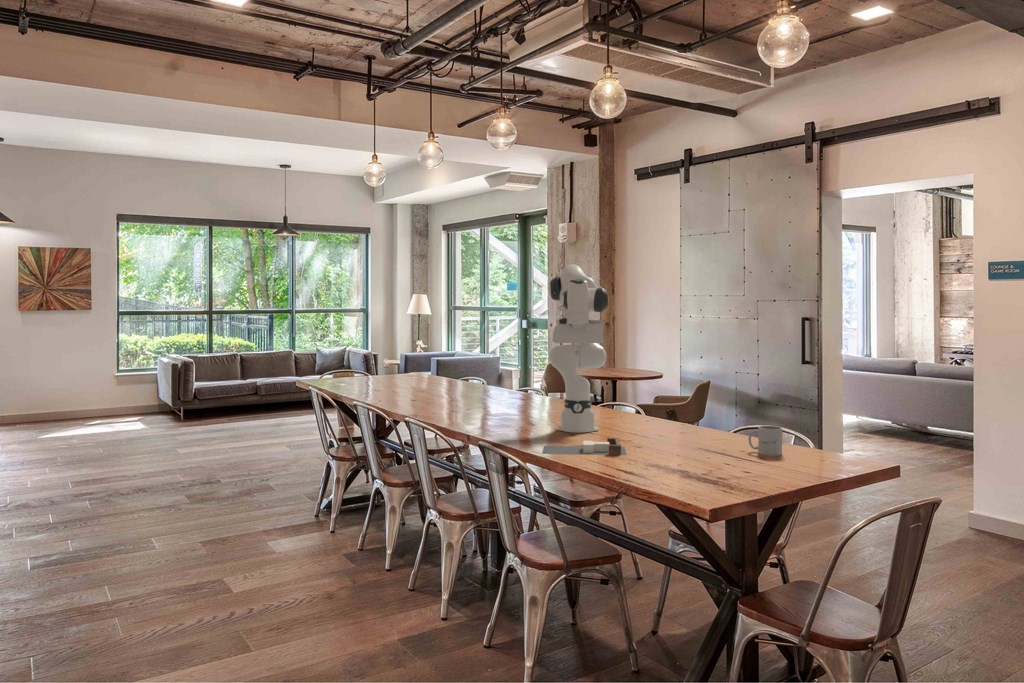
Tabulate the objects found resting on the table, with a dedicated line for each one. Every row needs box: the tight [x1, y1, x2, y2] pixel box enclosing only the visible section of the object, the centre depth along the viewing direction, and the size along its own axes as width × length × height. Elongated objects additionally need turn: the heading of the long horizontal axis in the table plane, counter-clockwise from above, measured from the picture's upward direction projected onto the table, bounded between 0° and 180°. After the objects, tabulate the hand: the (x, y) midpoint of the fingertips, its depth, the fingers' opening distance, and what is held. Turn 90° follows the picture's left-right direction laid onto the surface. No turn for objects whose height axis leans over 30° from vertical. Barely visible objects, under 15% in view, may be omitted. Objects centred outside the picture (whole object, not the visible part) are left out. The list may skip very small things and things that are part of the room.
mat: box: [541, 445, 628, 456], centre depth 292 cm, size 16×32×1 cm, turn 85°
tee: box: [582, 440, 609, 453], centre depth 291 cm, size 9×10×3 cm
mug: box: [748, 425, 783, 457], centre depth 288 cm, size 12×9×10 cm
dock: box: [606, 437, 622, 456], centre depth 290 cm, size 16×4×4 cm, turn 175°
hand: (577, 354), depth 300 cm, fingers closed
